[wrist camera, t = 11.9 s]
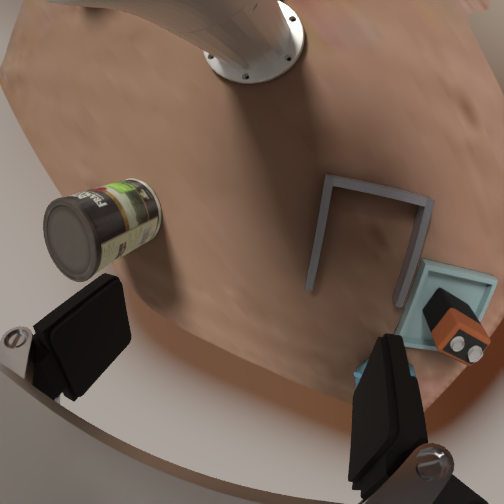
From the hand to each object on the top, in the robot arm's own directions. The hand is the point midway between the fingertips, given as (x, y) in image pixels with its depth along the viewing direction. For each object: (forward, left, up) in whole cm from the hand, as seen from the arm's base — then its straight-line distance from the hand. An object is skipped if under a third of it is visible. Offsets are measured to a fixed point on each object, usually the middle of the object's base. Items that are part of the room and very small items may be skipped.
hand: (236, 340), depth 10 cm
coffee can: (+6, -25, -28) cm, 38 cm away
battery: (+11, +22, -27) cm, 37 cm away
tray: (+11, +22, -28) cm, 37 cm away
